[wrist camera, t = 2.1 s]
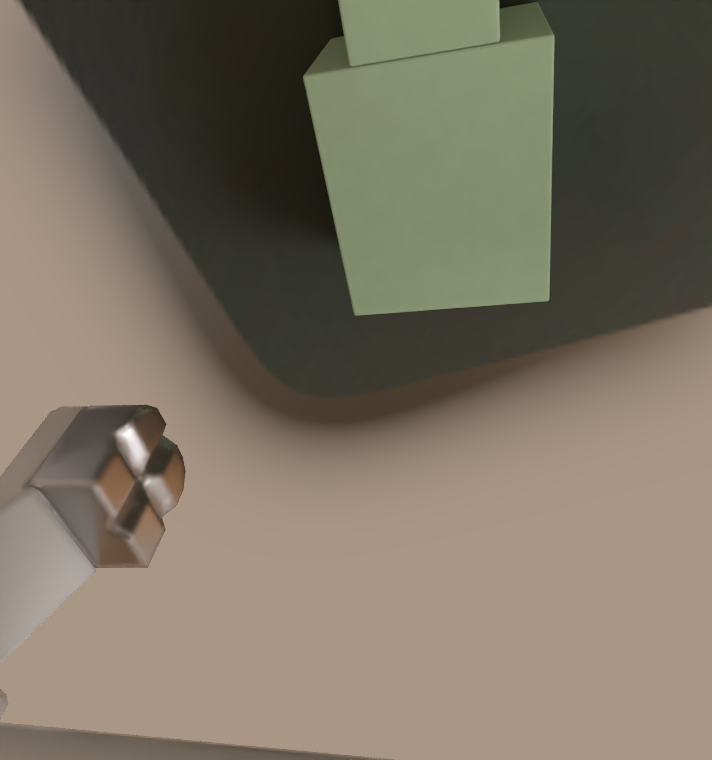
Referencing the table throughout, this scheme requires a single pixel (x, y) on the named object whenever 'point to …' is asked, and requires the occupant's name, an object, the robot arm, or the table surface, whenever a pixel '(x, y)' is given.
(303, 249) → the table surface
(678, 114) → the table surface
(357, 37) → the sage block
